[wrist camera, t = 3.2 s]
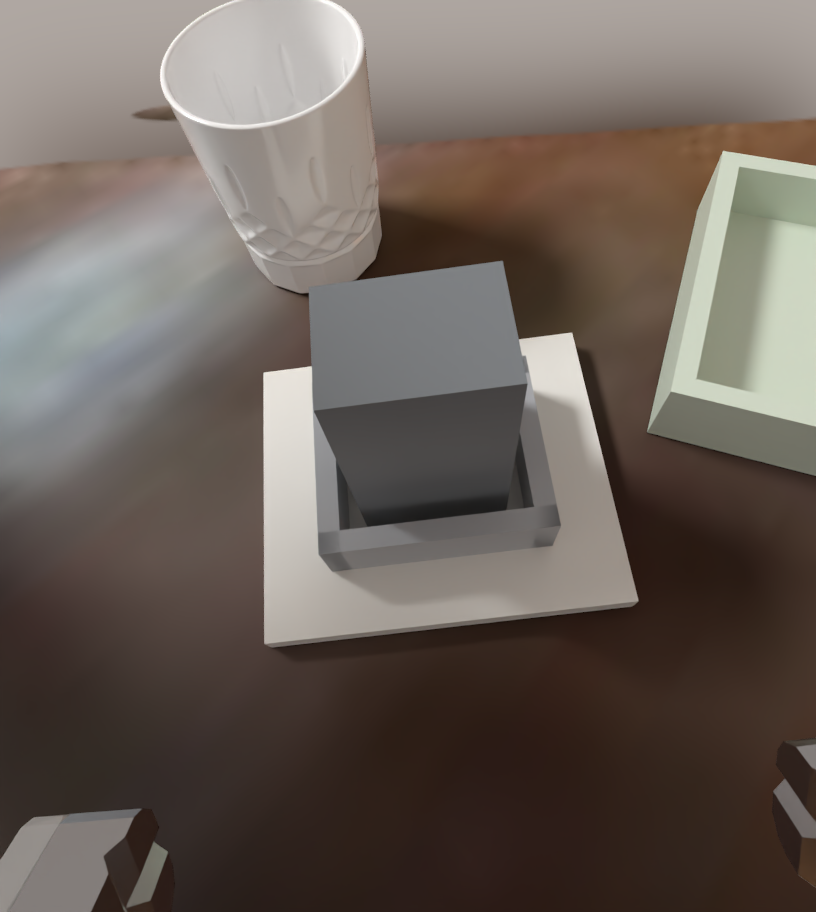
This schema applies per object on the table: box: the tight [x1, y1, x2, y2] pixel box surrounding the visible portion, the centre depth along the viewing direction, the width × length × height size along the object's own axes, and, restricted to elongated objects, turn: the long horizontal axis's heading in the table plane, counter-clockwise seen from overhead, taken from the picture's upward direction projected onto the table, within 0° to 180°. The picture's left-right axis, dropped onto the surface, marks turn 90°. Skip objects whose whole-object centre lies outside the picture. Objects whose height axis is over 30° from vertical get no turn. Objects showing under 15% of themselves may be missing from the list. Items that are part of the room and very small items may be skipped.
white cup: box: [160, 0, 382, 293], centre depth 29 cm, size 8×8×10 cm
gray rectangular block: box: [309, 261, 528, 527], centre depth 22 cm, size 6×4×10 cm
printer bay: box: [264, 333, 638, 647], centre depth 25 cm, size 14×12×4 cm
